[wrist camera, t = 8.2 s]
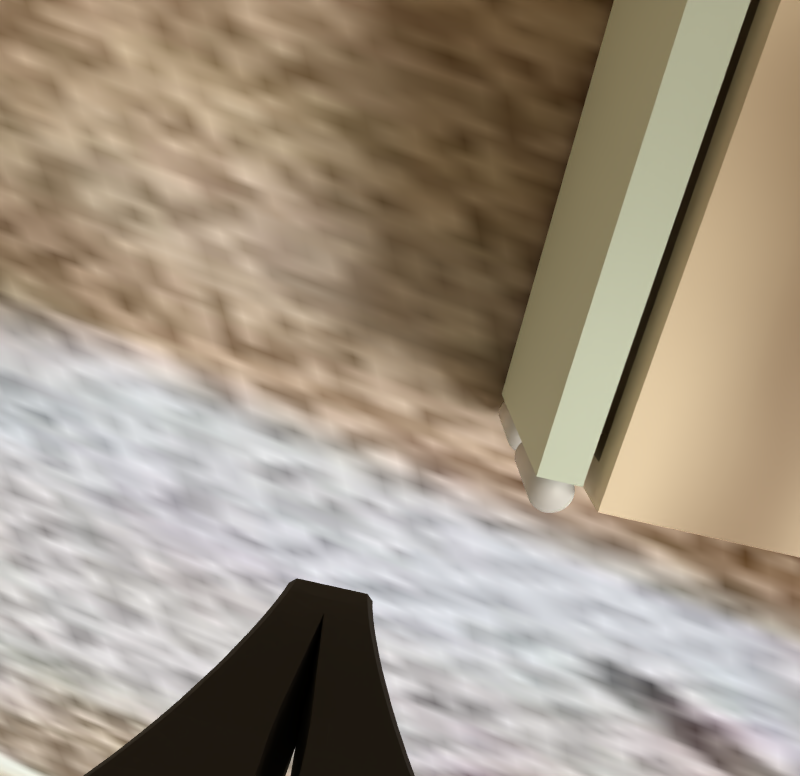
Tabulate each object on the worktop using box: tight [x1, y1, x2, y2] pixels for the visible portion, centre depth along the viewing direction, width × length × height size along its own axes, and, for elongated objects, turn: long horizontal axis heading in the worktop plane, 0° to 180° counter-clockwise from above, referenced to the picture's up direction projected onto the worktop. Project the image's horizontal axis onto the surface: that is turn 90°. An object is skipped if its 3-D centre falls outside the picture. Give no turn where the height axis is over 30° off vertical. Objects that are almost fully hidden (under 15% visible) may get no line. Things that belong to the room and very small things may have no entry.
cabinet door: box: [499, 0, 751, 513], centre depth 12 cm, size 2×20×6 cm, turn 167°
